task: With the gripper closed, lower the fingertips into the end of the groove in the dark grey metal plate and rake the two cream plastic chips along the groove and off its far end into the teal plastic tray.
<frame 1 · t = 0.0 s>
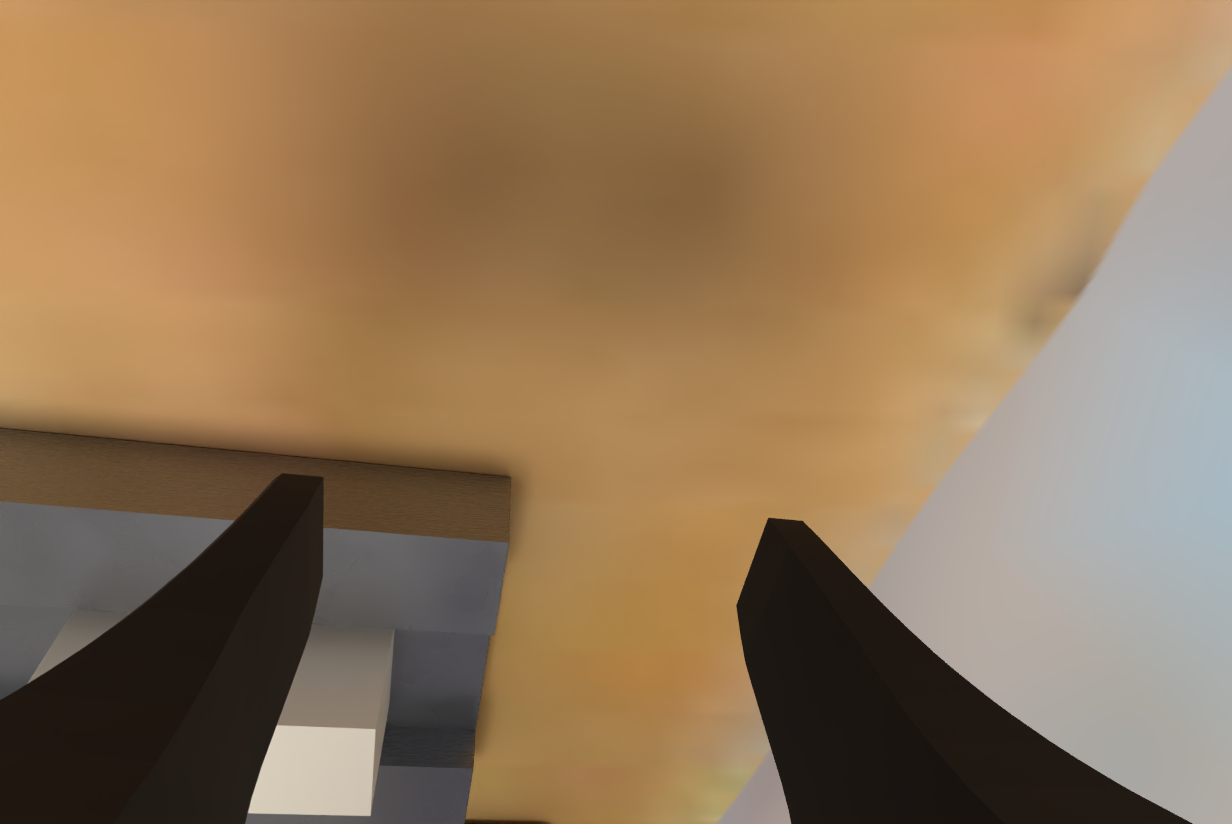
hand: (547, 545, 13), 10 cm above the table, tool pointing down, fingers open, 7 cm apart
chip b: (160, 650, 25), point 1 cm above the table, touching slotted plate
chip a: (328, 659, 26), point 1 cm above the table, touching slotted plate
slotted plate: (210, 616, 27), on the table
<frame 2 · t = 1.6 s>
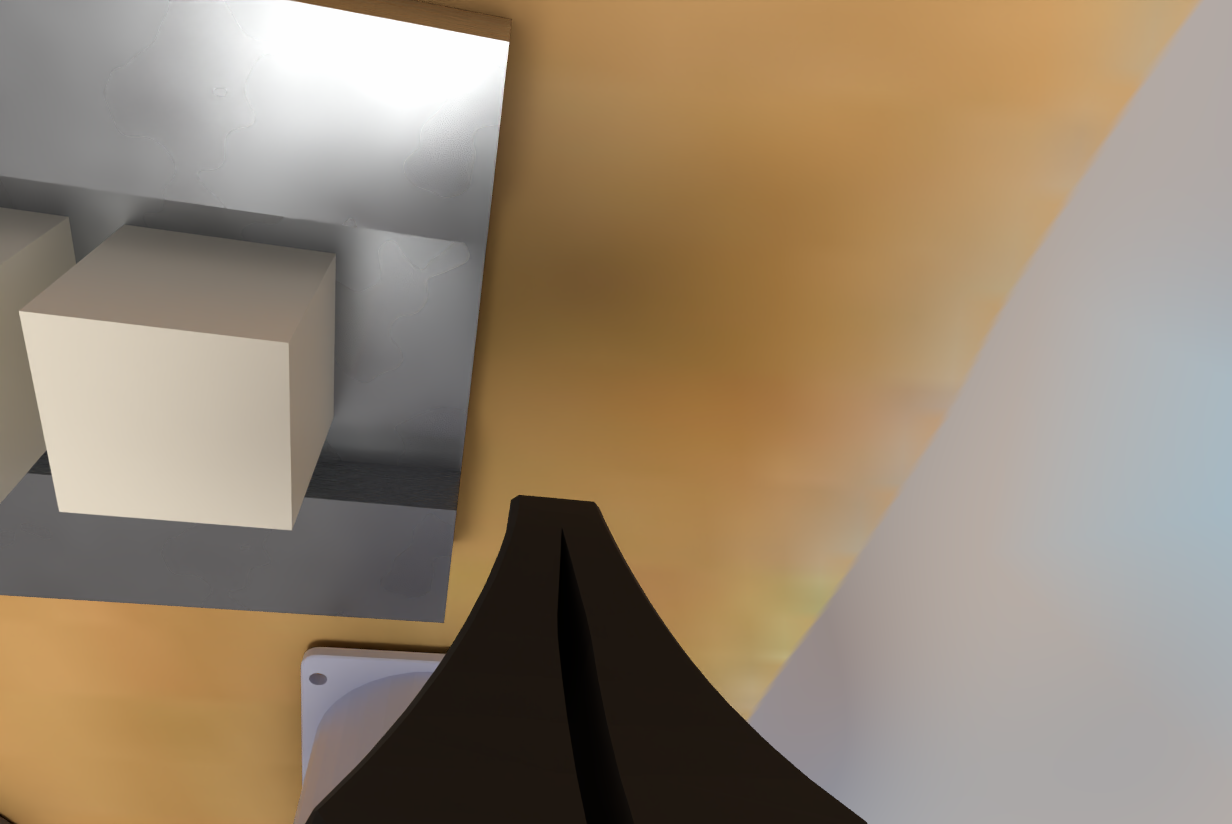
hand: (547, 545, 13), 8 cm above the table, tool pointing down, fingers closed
chip a: (237, 328, 18), point 1 cm above the table, touching slotted plate
slotted plate: (64, 274, 18), on the table
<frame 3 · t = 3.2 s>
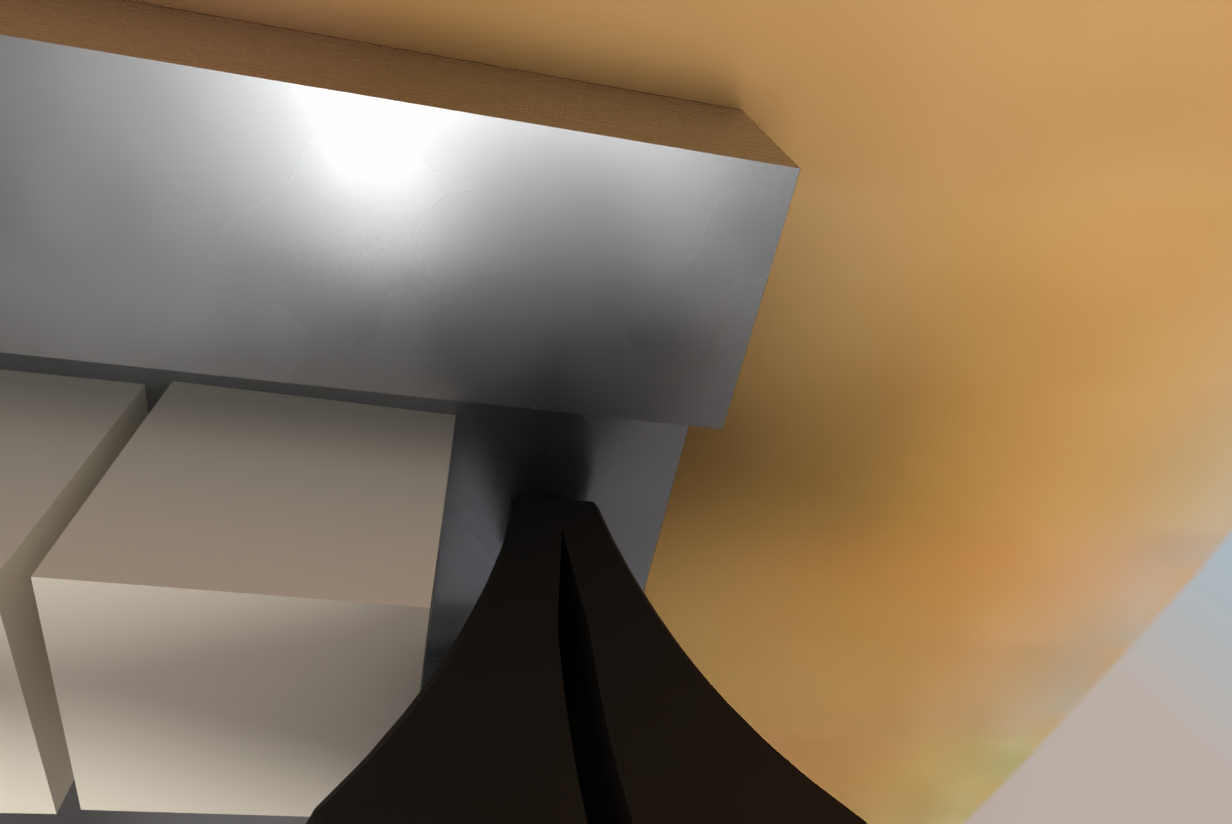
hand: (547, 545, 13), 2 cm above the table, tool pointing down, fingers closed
chip b: (16, 483, 12), point 1 cm above the table, touching slotted plate
chip a: (316, 504, 13), point 2 cm above the table
slotted plate: (128, 434, 14), on the table
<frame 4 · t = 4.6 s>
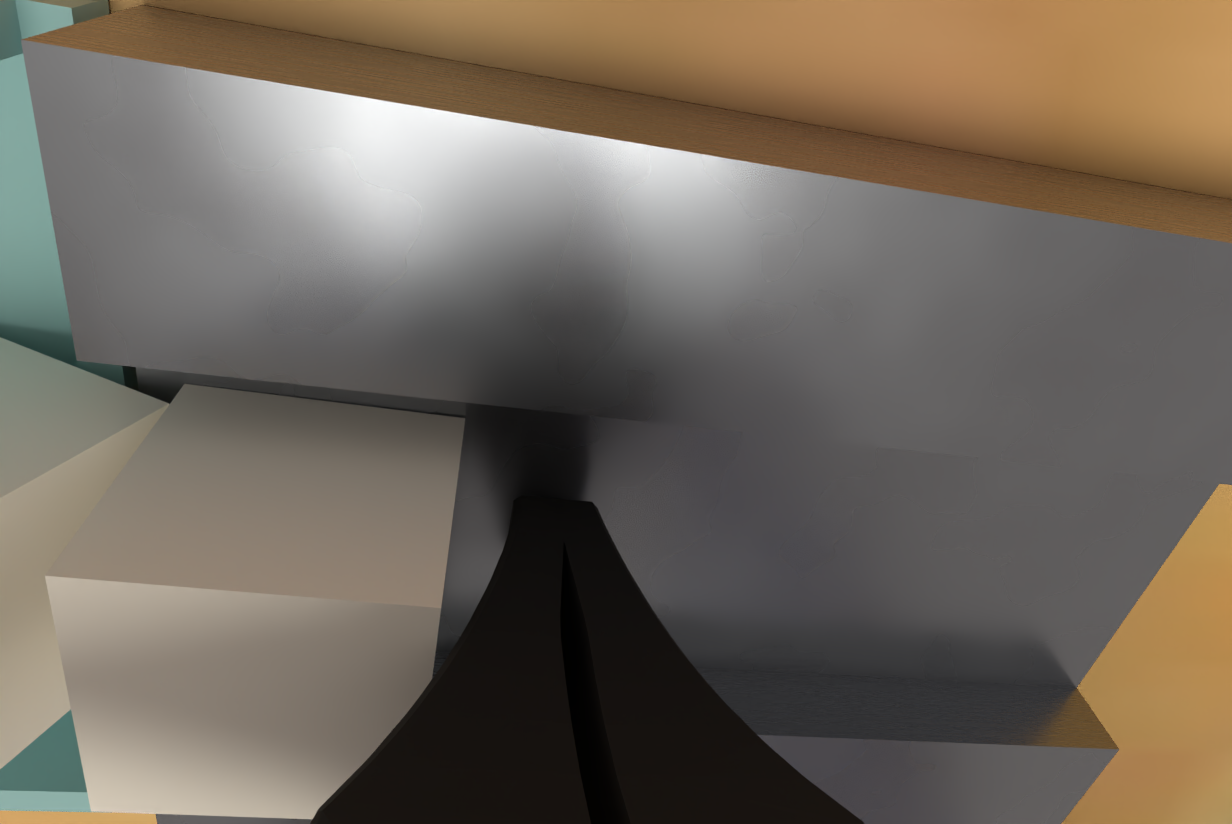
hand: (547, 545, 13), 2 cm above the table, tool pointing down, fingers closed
chip b: (73, 469, 13), point 1 cm above the table, tilted 24°, touching tray
chip a: (325, 507, 13), point 2 cm above the table, touching gripper
slotted plate: (693, 487, 16), on the table
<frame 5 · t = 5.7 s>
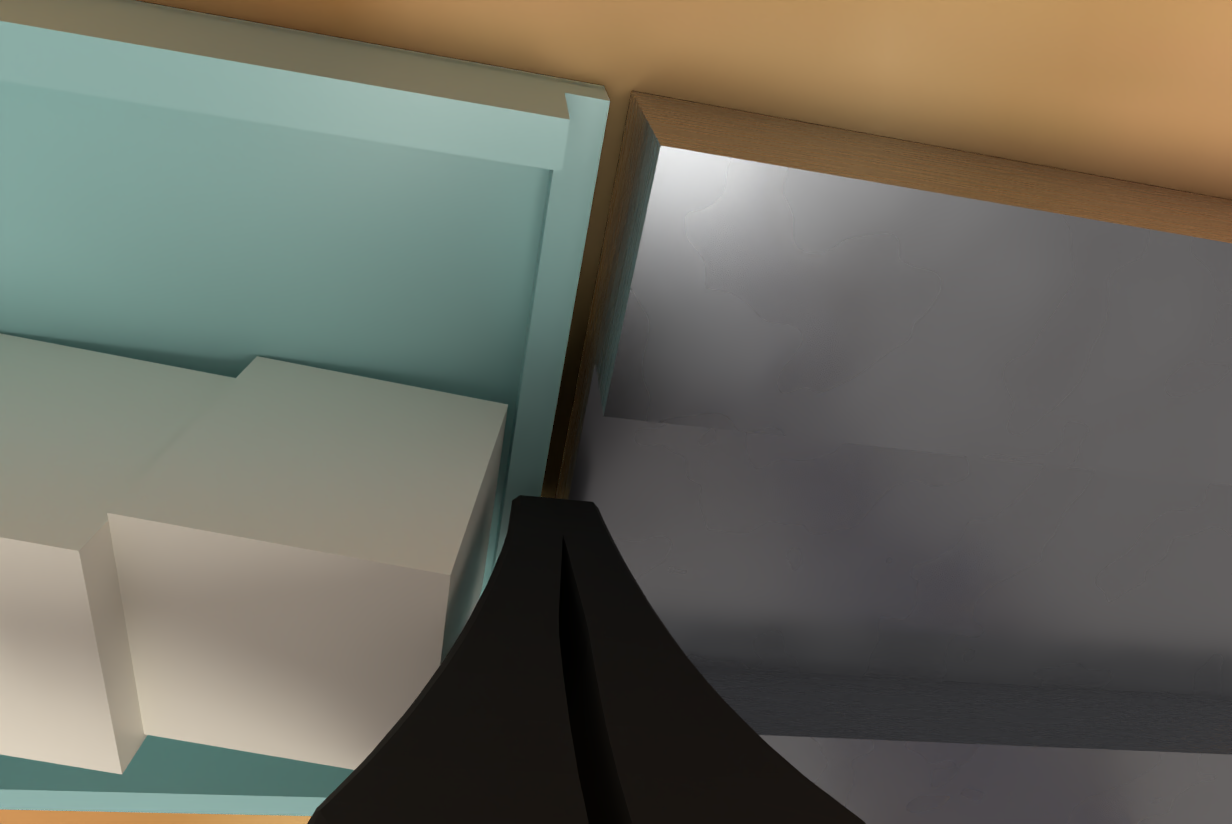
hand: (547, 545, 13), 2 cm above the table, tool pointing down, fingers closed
chip b: (123, 461, 13), point 1 cm above the table, tilted 9°, touching chip a
tray: (200, 440, 14), on the table
chip a: (378, 481, 14), point 1 cm above the table, tilted 9°, touching chip b, gripper
slotted plate: (997, 516, 17), on the table
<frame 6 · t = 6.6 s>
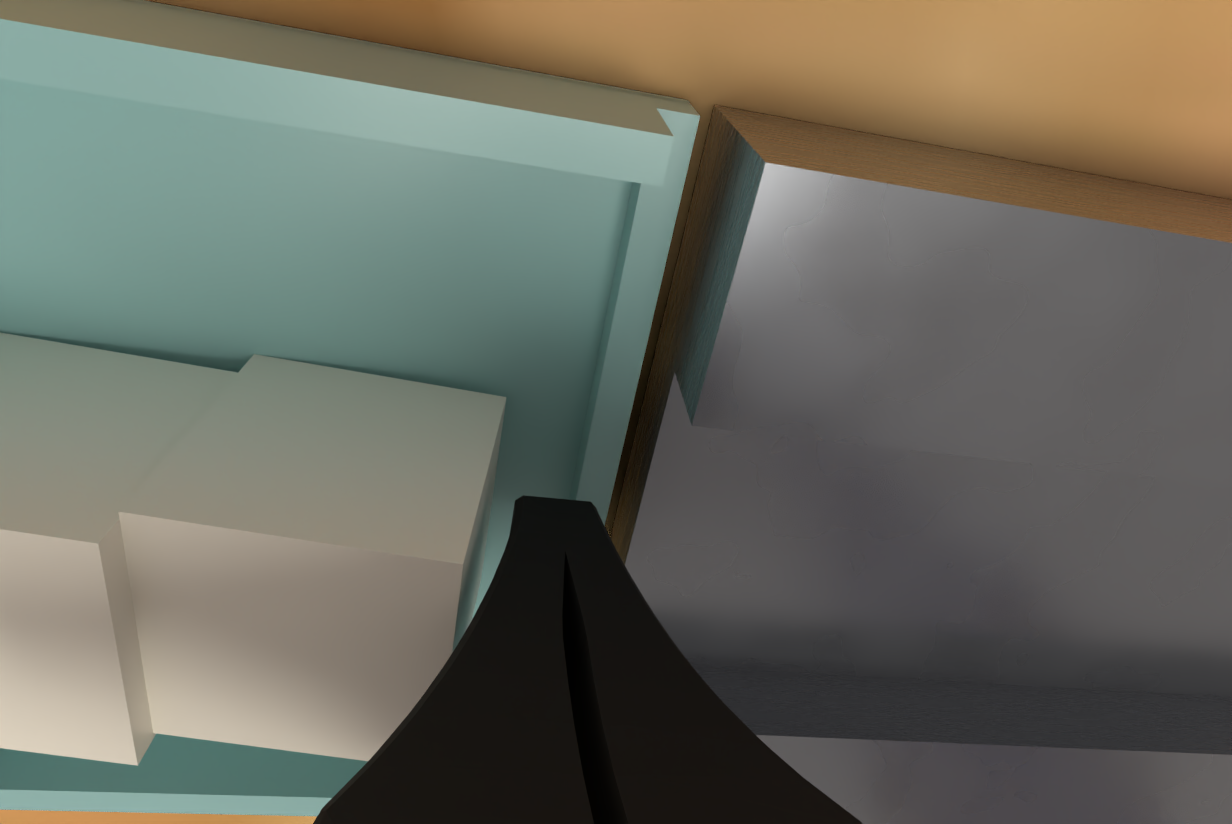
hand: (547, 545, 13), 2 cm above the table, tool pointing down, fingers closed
chip b: (123, 457, 13), point 1 cm above the table, tilted 6°, touching chip a, tray
tray: (274, 446, 14), on the table
chip a: (377, 476, 14), point 1 cm above the table, tilted 6°, touching chip b, gripper, tray
slotted plate: (1050, 521, 17), on the table
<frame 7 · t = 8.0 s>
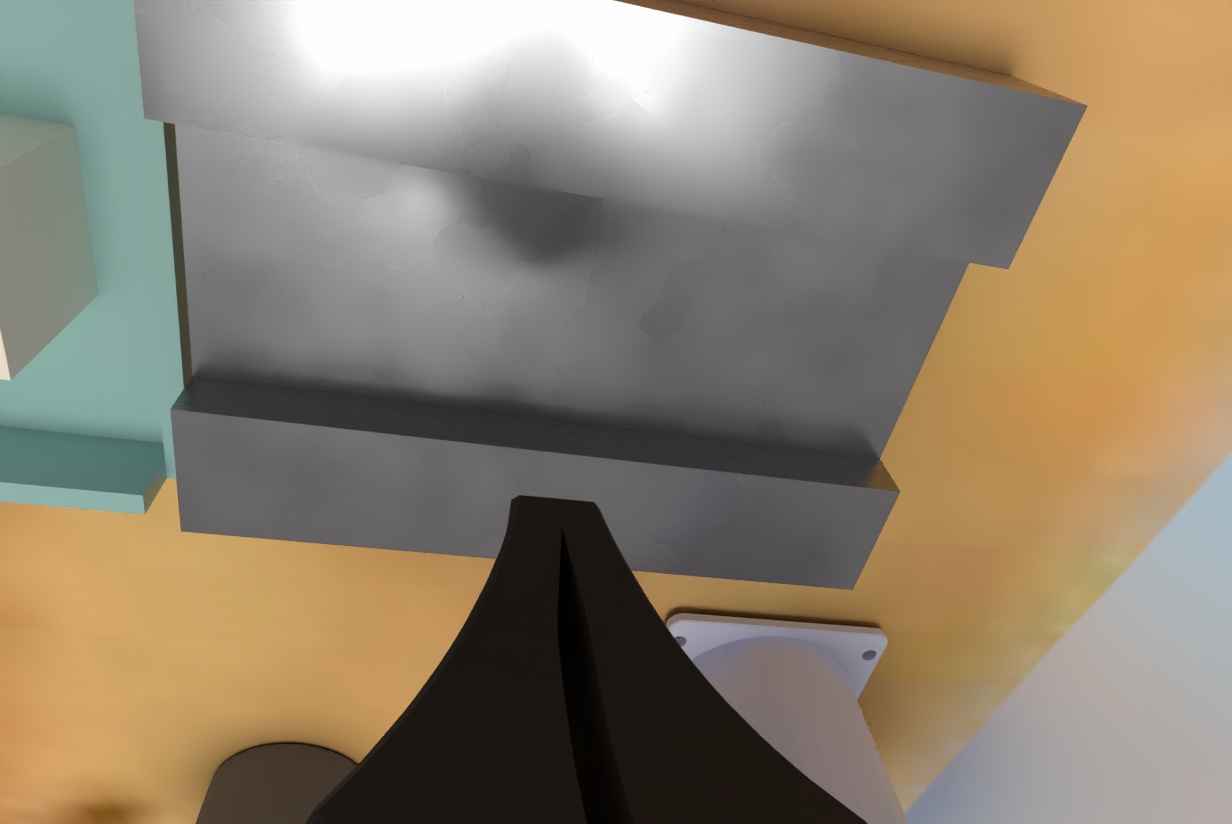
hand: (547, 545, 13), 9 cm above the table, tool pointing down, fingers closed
bottle: (294, 785, 31), on the table
slotted plate: (582, 284, 21), on the table
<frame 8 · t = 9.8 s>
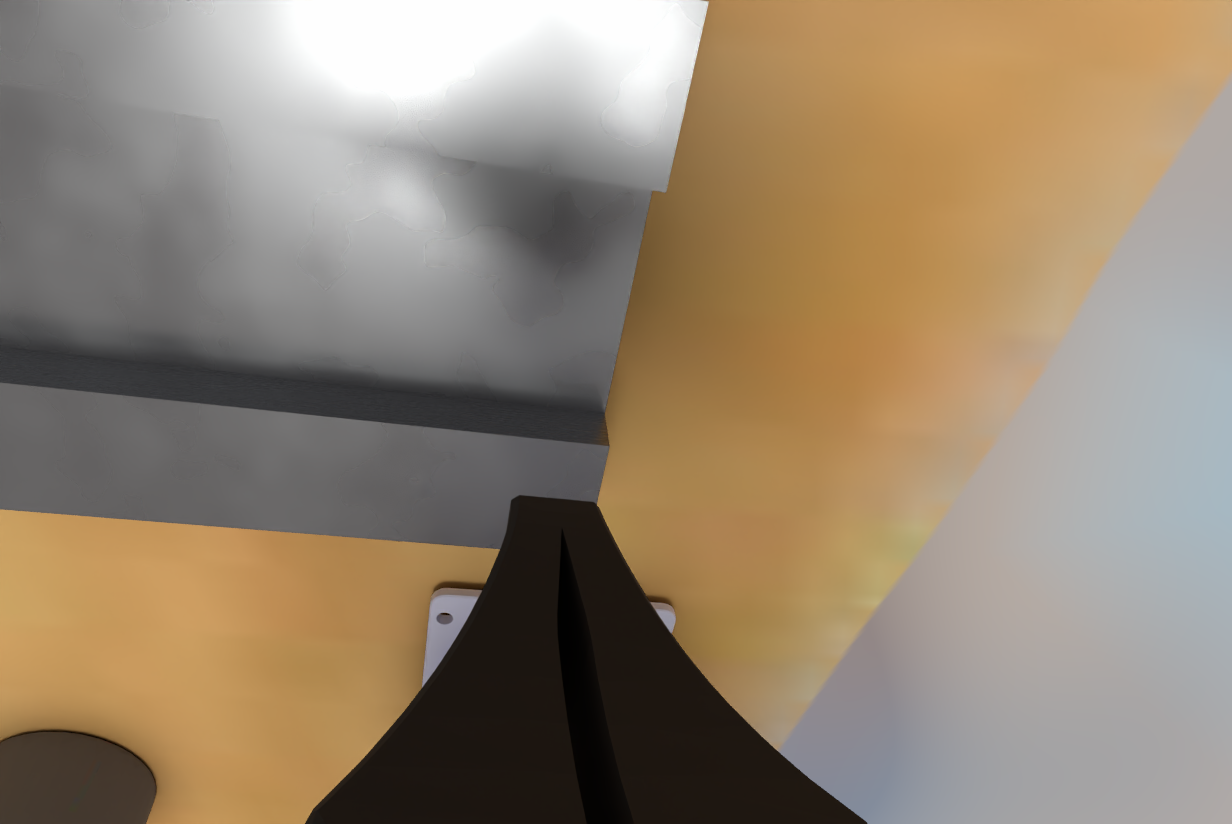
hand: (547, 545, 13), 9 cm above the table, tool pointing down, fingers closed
bottle: (73, 776, 30), on the table
slotted plate: (252, 225, 20), on the table
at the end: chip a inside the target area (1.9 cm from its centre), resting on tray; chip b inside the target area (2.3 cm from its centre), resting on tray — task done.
